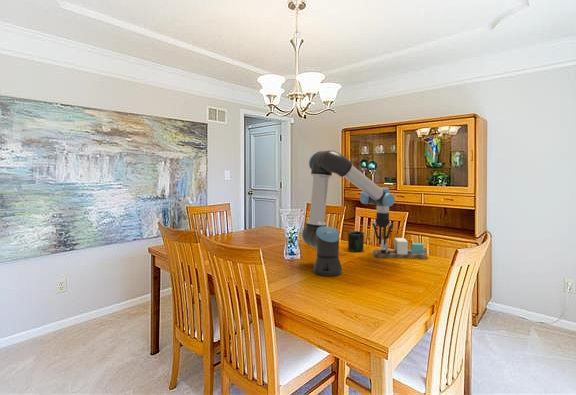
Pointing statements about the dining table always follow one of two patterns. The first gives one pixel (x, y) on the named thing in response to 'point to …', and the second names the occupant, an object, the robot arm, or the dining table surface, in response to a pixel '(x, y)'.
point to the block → (417, 247)
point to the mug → (355, 241)
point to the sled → (408, 250)
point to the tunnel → (401, 246)
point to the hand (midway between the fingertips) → (382, 249)
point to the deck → (396, 255)
